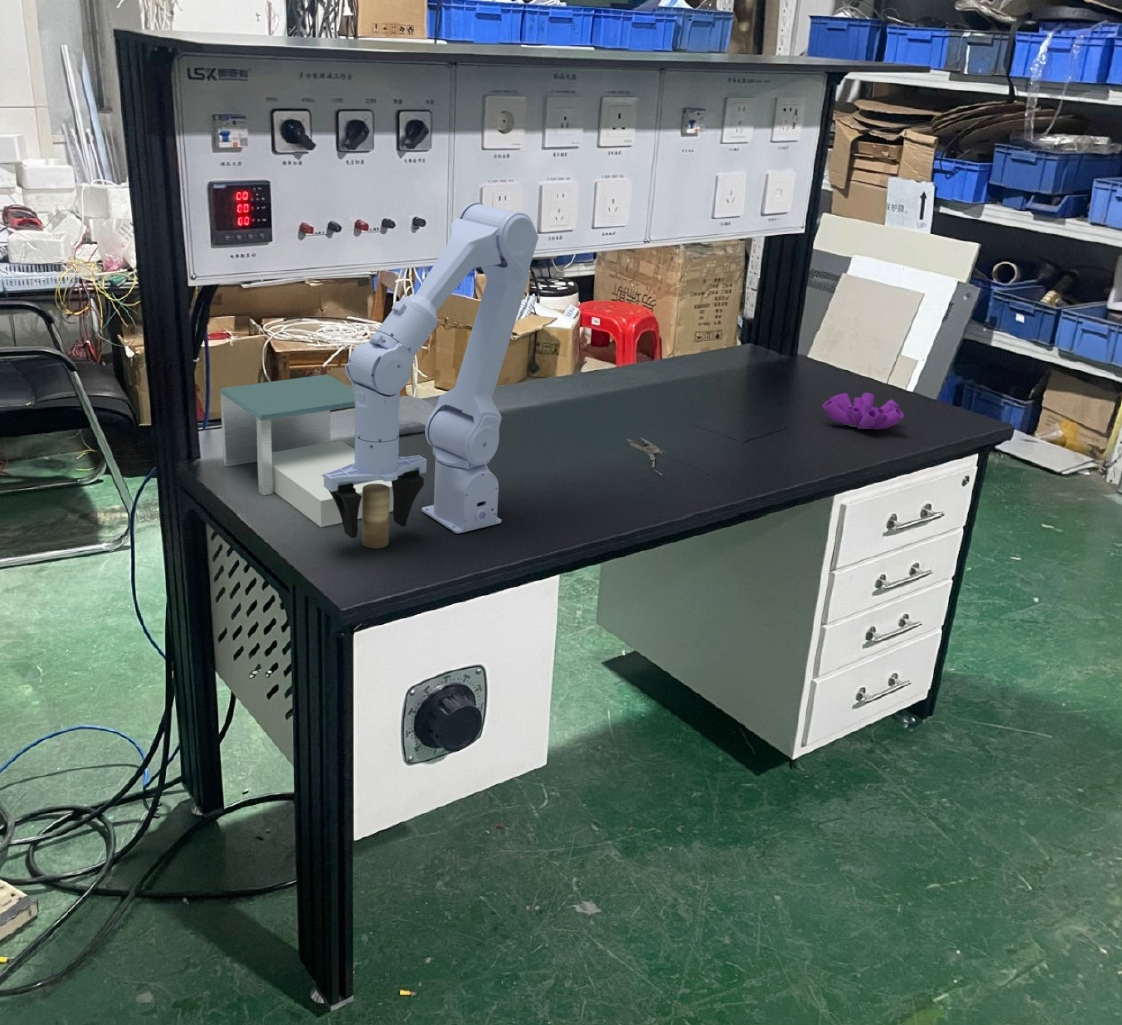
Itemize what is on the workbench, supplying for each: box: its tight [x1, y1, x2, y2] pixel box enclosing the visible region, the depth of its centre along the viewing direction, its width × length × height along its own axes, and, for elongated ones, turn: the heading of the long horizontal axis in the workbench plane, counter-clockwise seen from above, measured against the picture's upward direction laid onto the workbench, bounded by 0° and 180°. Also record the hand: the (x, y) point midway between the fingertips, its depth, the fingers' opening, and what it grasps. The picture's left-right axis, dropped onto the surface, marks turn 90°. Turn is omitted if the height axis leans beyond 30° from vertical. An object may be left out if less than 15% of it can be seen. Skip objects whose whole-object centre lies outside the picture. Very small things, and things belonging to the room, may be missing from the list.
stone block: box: [399, 395, 436, 436], centre depth 195 cm, size 12×5×10 cm
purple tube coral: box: [822, 392, 905, 430], centre depth 214 cm, size 11×15×10 cm
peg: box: [361, 484, 390, 549], centre depth 149 cm, size 4×4×8 cm
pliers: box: [625, 436, 665, 475], centre depth 189 cm, size 10×1×20 cm
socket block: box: [257, 440, 393, 528], centre depth 164 cm, size 20×14×4 cm
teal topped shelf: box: [219, 373, 355, 496], centre depth 170 cm, size 14×18×12 cm
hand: (375, 529), depth 150 cm, fingers open, 7 cm apart
